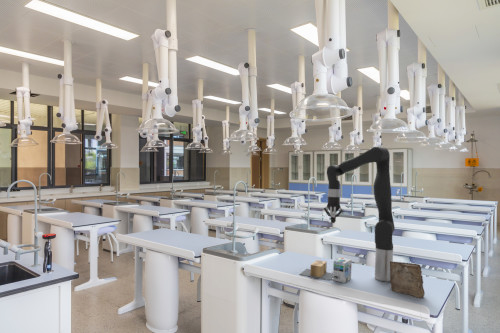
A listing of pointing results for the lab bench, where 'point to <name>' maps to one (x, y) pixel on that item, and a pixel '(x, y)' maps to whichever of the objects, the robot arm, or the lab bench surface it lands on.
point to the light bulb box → (342, 270)
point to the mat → (325, 276)
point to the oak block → (318, 268)
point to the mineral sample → (406, 279)
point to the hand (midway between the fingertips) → (333, 222)
